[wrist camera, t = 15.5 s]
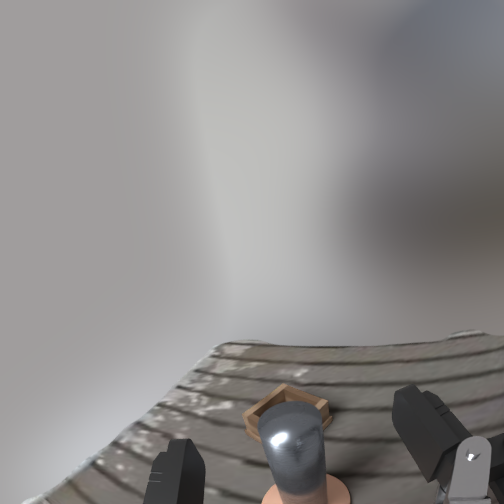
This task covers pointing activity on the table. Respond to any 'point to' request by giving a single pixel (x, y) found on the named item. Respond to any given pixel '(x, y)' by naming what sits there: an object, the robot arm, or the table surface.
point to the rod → (295, 451)
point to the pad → (335, 493)
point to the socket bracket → (280, 396)
